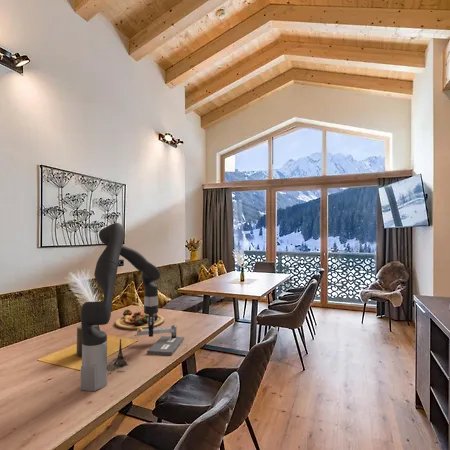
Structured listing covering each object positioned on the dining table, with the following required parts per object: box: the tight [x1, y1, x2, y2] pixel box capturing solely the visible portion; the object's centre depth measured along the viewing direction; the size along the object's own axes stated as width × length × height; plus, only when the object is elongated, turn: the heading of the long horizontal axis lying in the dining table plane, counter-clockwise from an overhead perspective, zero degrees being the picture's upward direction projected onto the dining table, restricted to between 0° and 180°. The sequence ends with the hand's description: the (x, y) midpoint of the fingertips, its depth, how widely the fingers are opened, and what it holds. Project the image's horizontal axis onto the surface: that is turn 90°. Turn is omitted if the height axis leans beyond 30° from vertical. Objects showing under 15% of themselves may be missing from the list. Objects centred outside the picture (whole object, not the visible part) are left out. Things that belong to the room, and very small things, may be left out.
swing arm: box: [136, 324, 177, 338], centre depth 173 cm, size 21×4×6 cm, turn 103°
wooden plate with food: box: [114, 308, 165, 331], centre depth 208 cm, size 32×32×8 cm
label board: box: [146, 335, 185, 356], centre depth 165 cm, size 22×13×2 cm, turn 172°
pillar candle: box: [75, 324, 99, 358], centre depth 157 cm, size 10×10×15 cm
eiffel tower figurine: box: [107, 337, 129, 373], centre depth 143 cm, size 15×10×13 cm
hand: (150, 336), depth 168 cm, fingers closed
